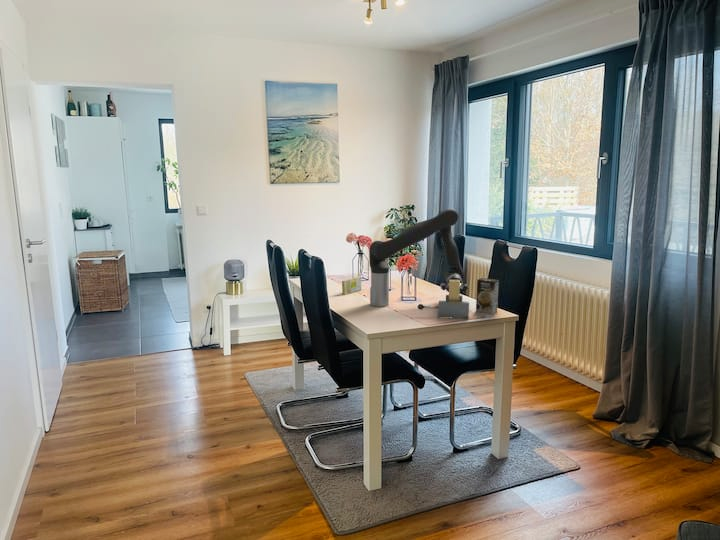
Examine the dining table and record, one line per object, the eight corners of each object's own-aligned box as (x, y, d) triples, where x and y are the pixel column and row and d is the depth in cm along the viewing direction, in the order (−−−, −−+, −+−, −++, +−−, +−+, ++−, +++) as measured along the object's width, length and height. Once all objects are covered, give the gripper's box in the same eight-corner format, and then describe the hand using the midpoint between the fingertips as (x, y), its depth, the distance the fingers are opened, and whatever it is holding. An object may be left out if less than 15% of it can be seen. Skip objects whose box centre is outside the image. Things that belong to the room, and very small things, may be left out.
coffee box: (475, 311, 266) (476, 279, 263) (480, 309, 271) (481, 277, 268) (493, 314, 261) (494, 281, 258) (497, 311, 266) (499, 279, 263)
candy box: (358, 290, 317) (358, 276, 316) (361, 290, 316) (361, 276, 315) (341, 295, 304) (341, 280, 303) (344, 295, 303) (344, 281, 302)
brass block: (448, 312, 257) (449, 281, 255) (448, 309, 262) (449, 279, 259) (459, 312, 256) (459, 281, 254) (459, 310, 261) (459, 279, 259)
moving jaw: (445, 311, 266) (445, 296, 264) (445, 309, 270) (446, 294, 268) (461, 312, 264) (462, 297, 263) (461, 310, 268) (462, 295, 267)
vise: (417, 316, 256) (417, 301, 255) (419, 309, 271) (419, 294, 269) (468, 318, 252) (469, 303, 251) (468, 311, 266) (468, 296, 265)
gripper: (440, 275, 272) (439, 281, 255) (469, 275, 269) (470, 282, 253) (440, 289, 273) (438, 297, 257) (468, 290, 271) (469, 298, 254)
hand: (454, 290), depth 255 cm, fingers closed on brass block, 5 cm apart
